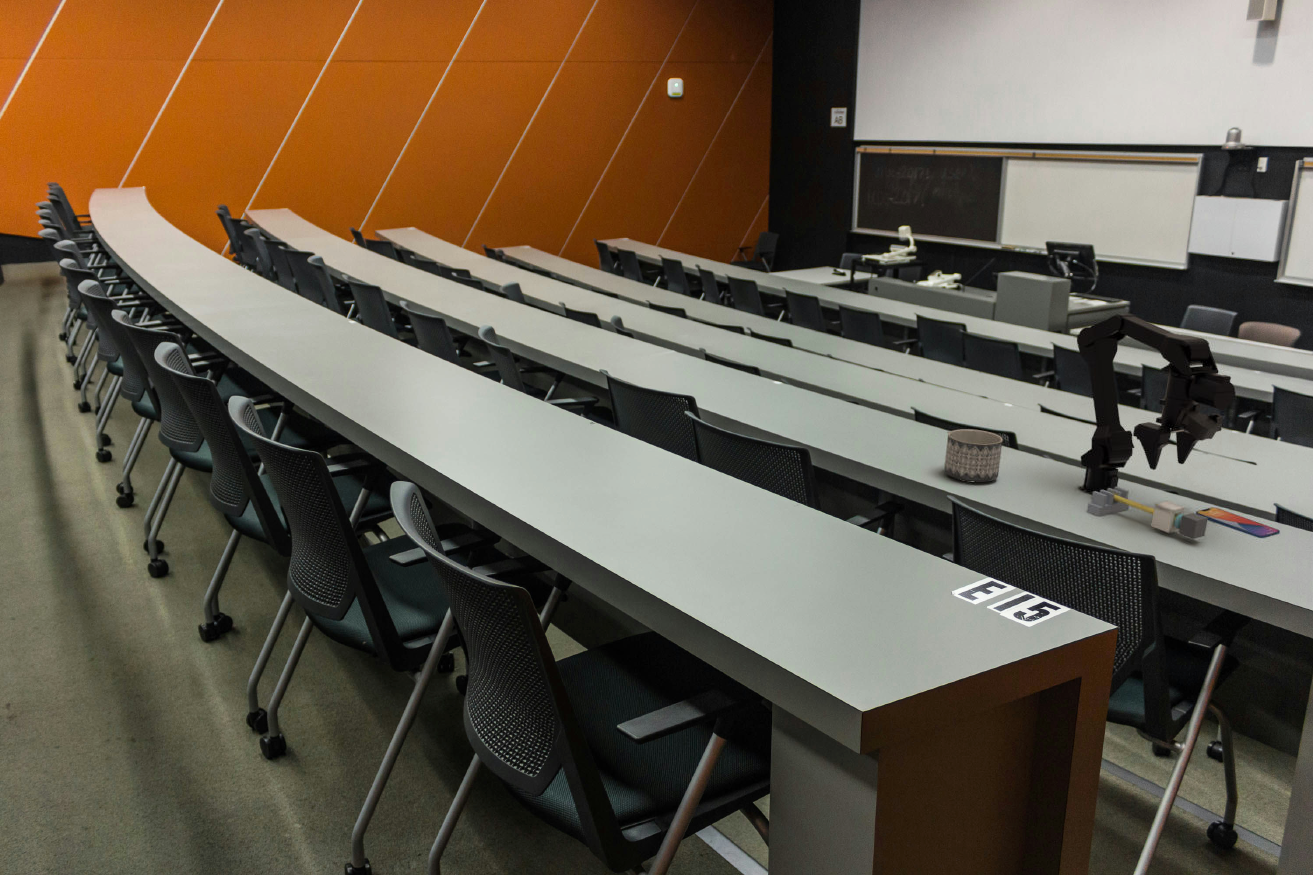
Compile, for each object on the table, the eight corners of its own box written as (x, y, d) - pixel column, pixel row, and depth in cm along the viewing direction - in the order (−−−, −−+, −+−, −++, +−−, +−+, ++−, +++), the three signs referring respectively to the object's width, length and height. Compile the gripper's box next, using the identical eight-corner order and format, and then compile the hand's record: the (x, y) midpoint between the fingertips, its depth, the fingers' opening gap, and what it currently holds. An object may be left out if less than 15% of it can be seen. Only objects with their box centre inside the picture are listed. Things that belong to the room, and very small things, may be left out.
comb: (1086, 511, 212) (1089, 492, 211) (1116, 504, 217) (1119, 485, 216) (1098, 516, 210) (1101, 496, 209) (1128, 509, 214) (1131, 489, 213)
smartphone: (1260, 541, 199) (1261, 536, 199) (1192, 516, 212) (1193, 511, 211) (1281, 535, 203) (1282, 530, 202) (1213, 511, 215) (1214, 506, 215)
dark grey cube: (1174, 531, 198) (1177, 514, 197) (1185, 529, 199) (1188, 511, 198) (1193, 539, 194) (1196, 520, 193) (1204, 536, 196) (1207, 517, 195)
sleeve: (1151, 526, 202) (1155, 504, 201) (1163, 523, 204) (1167, 501, 202) (1168, 532, 199) (1172, 510, 197) (1180, 529, 200) (1185, 507, 199)
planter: (979, 489, 226) (984, 447, 223) (933, 475, 235) (937, 435, 232) (1007, 478, 234) (1012, 437, 231) (961, 465, 243) (966, 426, 240)
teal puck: (1173, 529, 198) (1175, 514, 197) (1182, 526, 200) (1185, 512, 199) (1176, 530, 197) (1179, 516, 197) (1186, 528, 199) (1189, 513, 198)
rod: (1102, 496, 214) (1102, 491, 213) (1105, 495, 214) (1106, 490, 214) (1183, 526, 197) (1184, 520, 197) (1187, 525, 198) (1188, 520, 197)
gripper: (1186, 411, 191) (1172, 484, 196) (1244, 401, 199) (1229, 472, 204) (1137, 397, 200) (1125, 467, 205) (1195, 389, 208) (1182, 456, 213)
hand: (1166, 466), depth 207 cm, fingers open, 9 cm apart
